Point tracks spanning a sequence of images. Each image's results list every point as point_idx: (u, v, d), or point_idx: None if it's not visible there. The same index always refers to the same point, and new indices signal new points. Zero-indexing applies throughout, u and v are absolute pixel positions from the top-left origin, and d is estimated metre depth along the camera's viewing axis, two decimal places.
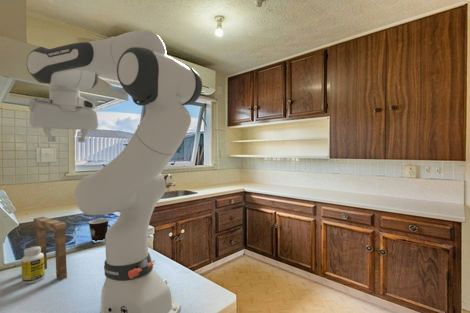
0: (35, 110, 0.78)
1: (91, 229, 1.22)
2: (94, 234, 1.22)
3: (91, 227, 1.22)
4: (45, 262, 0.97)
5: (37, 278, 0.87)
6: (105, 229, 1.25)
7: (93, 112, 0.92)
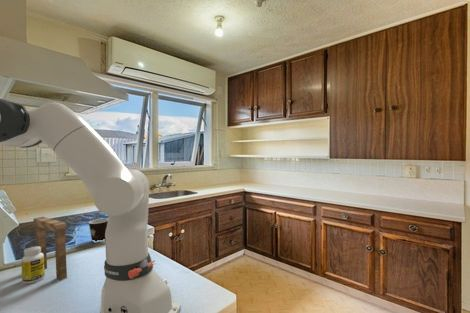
0: None
1: (91, 229, 1.22)
2: (94, 234, 1.22)
3: (91, 227, 1.22)
4: (45, 262, 0.97)
5: (37, 278, 0.87)
6: (105, 229, 1.25)
7: None
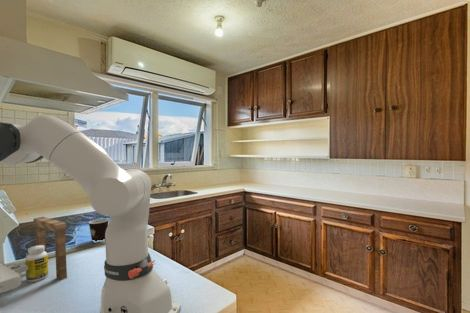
0: (0, 281, 0.74)
1: (91, 229, 1.22)
2: (94, 234, 1.22)
3: (91, 227, 1.22)
4: None
5: (41, 276, 0.88)
6: (105, 229, 1.25)
7: None
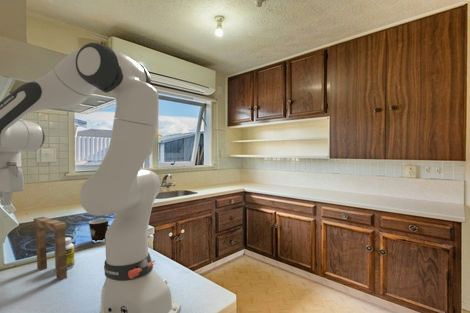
0: (22, 175, 0.79)
1: (91, 229, 1.22)
2: (94, 234, 1.22)
3: (91, 227, 1.22)
4: (45, 262, 0.97)
5: (69, 266, 0.96)
6: (105, 229, 1.25)
7: None
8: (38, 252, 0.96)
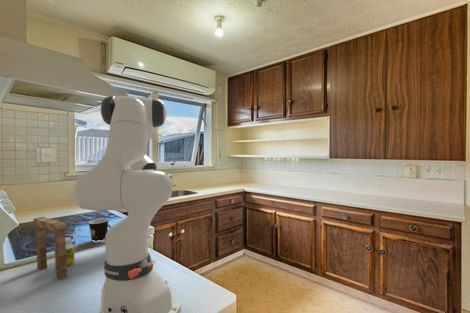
0: None
1: (91, 229, 1.22)
2: (94, 234, 1.22)
3: (91, 227, 1.22)
4: (45, 262, 0.97)
5: (69, 266, 0.96)
6: (105, 229, 1.25)
7: None
8: (38, 252, 0.96)
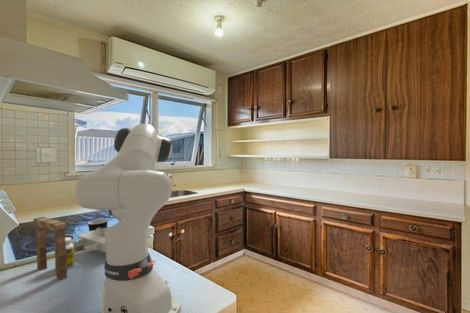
0: None
1: None
2: None
3: (88, 226, 1.23)
4: (45, 262, 0.97)
5: (69, 266, 0.96)
6: None
7: None
8: (38, 252, 0.96)
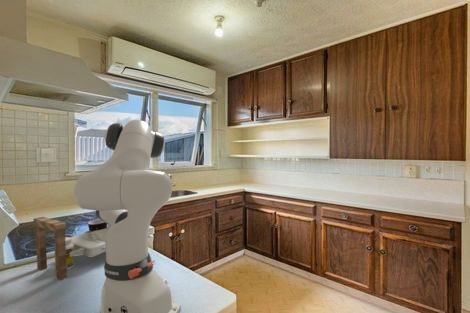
0: (102, 252, 1.00)
1: None
2: None
3: None
4: (45, 262, 0.97)
5: (69, 266, 0.96)
6: None
7: None
8: (38, 252, 0.96)
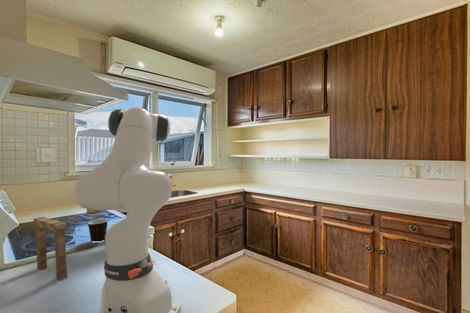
0: None
1: None
2: (90, 234, 1.22)
3: None
4: (45, 262, 0.97)
5: (99, 212, 1.10)
6: (98, 231, 1.21)
7: None
8: (38, 252, 0.96)
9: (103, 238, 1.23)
